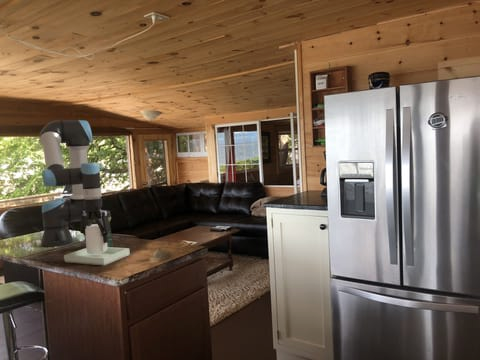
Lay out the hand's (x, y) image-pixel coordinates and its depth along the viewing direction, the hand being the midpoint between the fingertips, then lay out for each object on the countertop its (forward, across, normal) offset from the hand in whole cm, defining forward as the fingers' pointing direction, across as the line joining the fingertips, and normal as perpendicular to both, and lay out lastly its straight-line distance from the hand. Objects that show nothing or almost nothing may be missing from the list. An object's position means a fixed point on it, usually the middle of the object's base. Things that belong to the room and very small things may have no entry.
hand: (97, 249), depth 171 cm
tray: (+4, 0, 0) cm, 4 cm away
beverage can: (+1, 0, 0) cm, 1 cm away
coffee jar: (+4, -12, +16) cm, 20 cm away
